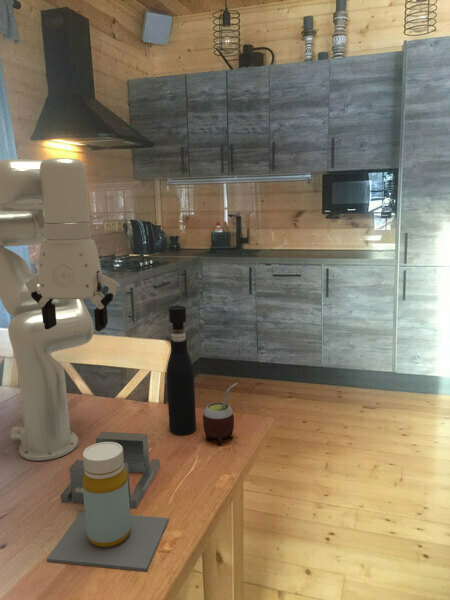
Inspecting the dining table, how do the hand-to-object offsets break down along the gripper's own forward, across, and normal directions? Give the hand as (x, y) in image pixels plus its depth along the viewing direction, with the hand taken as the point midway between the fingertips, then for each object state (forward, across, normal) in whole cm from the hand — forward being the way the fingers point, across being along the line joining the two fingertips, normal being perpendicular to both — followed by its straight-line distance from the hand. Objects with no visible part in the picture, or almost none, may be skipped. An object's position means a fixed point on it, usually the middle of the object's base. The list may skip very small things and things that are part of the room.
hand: (75, 328), depth 90 cm
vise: (+32, +4, +1) cm, 32 cm away
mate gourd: (+32, +22, +22) cm, 45 cm away
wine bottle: (+32, +12, +26) cm, 43 cm away
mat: (+32, +10, -14) cm, 36 cm away
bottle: (+31, +10, -14) cm, 36 cm away
